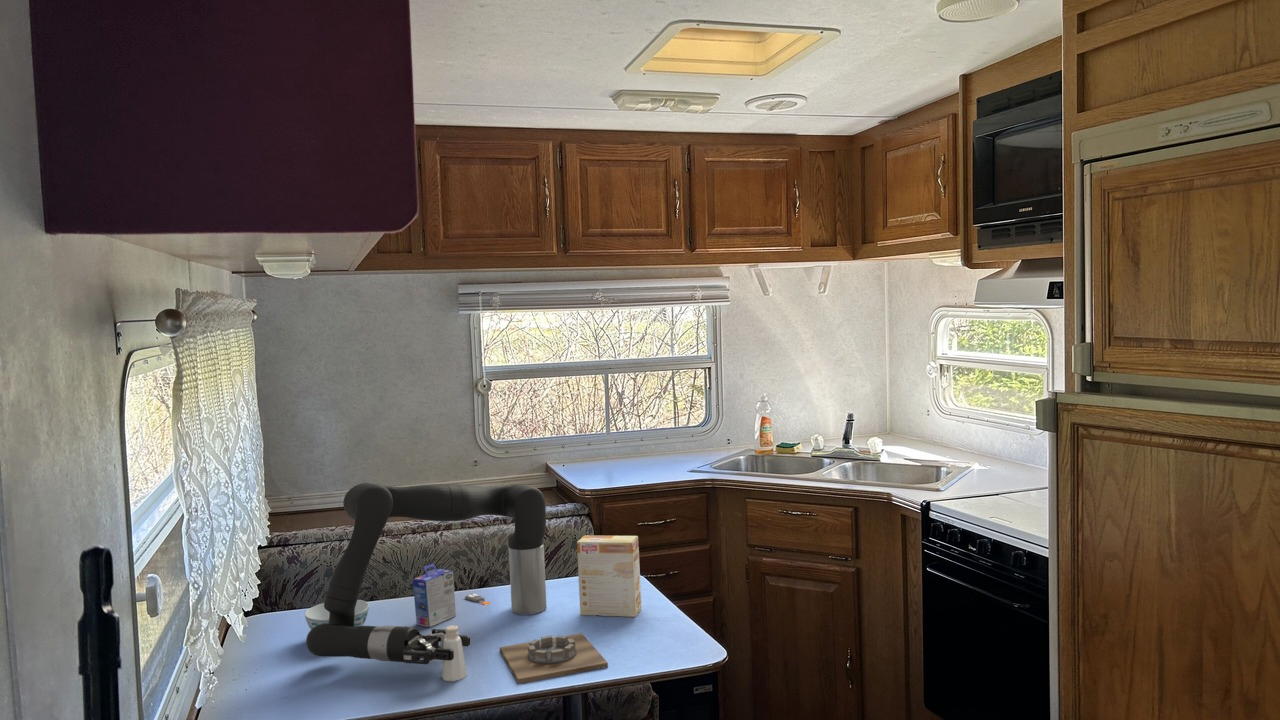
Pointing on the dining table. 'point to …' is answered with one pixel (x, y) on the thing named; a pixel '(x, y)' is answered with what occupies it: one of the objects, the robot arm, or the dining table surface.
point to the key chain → (476, 599)
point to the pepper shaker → (457, 665)
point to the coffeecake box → (609, 575)
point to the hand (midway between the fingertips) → (461, 647)
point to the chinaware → (321, 615)
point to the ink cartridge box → (434, 596)
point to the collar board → (552, 657)
